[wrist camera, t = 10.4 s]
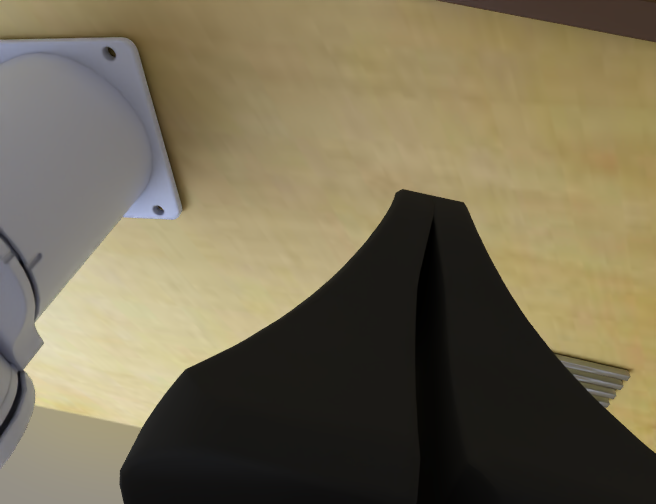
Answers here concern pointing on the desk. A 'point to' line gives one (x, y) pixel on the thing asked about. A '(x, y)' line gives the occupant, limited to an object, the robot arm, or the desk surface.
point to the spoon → (582, 14)
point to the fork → (596, 377)
